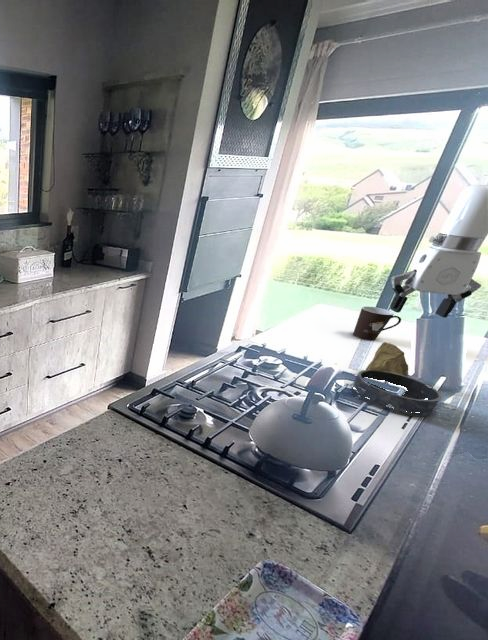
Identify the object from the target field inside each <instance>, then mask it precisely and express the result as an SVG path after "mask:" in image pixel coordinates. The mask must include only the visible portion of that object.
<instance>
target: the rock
mask: <svg viewBox="0 0 488 640" xmlns="http://www.w3.org/2000/svg"><path fill="white" fill-rule="evenodd" d="M365 370H380V371H386V372H392V373H396V374H400V375H404V376H407V377H409V364H408V363H407V360H406V357H405V352H404V351H402V349H401V348H399V347H398V346H397V345H395V344H393V343H390V342H389V343H388V342H382V343H381V344H380V346H379V347H377V350H376V351H375V353H374V356H373V357H372V360H371V361H370V363H369V364H368V365H367V366H366V368H365Z"/></svg>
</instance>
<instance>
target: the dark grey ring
mask: <svg viewBox="0 0 488 640" xmlns="http://www.w3.org/2000/svg"><path fill="white" fill-rule="evenodd" d="M364 377H368V378H373V379H377V380H385V381H388V382H390V383H393V384H396V385H401V386H404V387H406V388H407V390H408V391H406V392H405V394H404V395H402V396H399V395H396V394H392V393H390V392H388V391H386V390H385V389H383V388H380V387H378V386H376V385H373V384H370V383H369V382H366V381H365V380H364V379H363V378H364ZM352 385H353V387H355V388H356V389H357V390H358V392H359V393H357V392H356V391H355V390H354V389H353V387H352ZM350 391H351V392H352V394H353V395H354V396H356V397H357V398H359V399H360V400H361V401H363V402H365V403H367V404H368V405H371V406H373V407H376V408H378V409H381V410H384V411H387V412H391V413H393V414H398V415H402V416H408V417H428V416H430V415H431V414H432V413H433V412H434V410H436V407H437V406H438V405H439V404H440V401H442V400H443V396H442V393H440V392H439V391H438V390H437V389H436V388H434V387H433V386H431V385H429V384H427V383H425V382H423V381H420V380H419V379H415V378H413V377H410V376H408V377H407V376H404V375H400V374H396V373H392V372H386V371H380V370H366V369H363V370H360V371H359V372H358V373H357V374H356V377H355V378H354V380H353V381H352V383H351V386H350ZM365 397H368V398H370V400H369V399H367V398H365ZM425 398H428V400H424V399H425ZM388 404H391V405H392V406H393V407H394V409H393V408H389V407H386V405H388ZM406 411H407V412H406ZM411 412H412V413H411ZM413 412H414V413H413ZM415 412H420V413H415Z"/></svg>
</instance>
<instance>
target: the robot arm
mask: <svg viewBox="0 0 488 640" xmlns="http://www.w3.org/2000/svg"><path fill="white" fill-rule="evenodd" d="M487 236H488V184H472V185H468V186H467V187H465V188H464V189H463V190H461V192H460V194H459V196H458V198H457V200H456V201H455V203H454V205H453V207H452V209H451V211H450V212H449V214H448V216H447V217H446V219H445V221H444V223H443V225H442V227H441V229H440V231H439V233H437V235H436V236H430V237H429V239H428V242H429V243H432V245H431V246H428V247H427V248H426V249H425V250H424V252H422V254H421V255H420V257H419V258H417V261H416V262H415V263H414V265H413V267H412V268H411V270H410V271H407V272H403V273H399V274H396V275H393V276H391V278H390V279H391V281H390V282H391V288H392V290H393V293H394V294H395V296H394V297H393V299H392V301H391V303H390V305H389V310H390V311H392V312H393V313H401V311H402V310H403V308H404V306H405V304H406V302H407V300H408V297H407V296H408V295H410V294H412V293H414V292H420V293H429V294H440V295H446V297H445V298H443V299H442V300H441V302H440V304H439V306H438V307H437V309H436V311H435V314H436V315H438V316H440V317H441V318H445V319H446V318H448V316H449V315H450V314H451V312H452V311H453V309H455V306H456V305H457V303H461V302H462V301H463V300H464V299H466V298H468V297H470V296H472V294H474V293H475V292H476V291H478V290H479V289H480V288H482V285H481V284H480V283H479V282H478V281H476V280H475V279H473V277H474V275H475V272H476V270H477V268H478V266H479V263H480V259H481V256H482V252H481V251H479V249H480V248H481V247H482V245H483V243H484V241H485V240H486V239H487ZM402 281H404V285H401V284H402Z"/></svg>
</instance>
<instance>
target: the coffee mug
mask: <svg viewBox="0 0 488 640" xmlns="http://www.w3.org/2000/svg"><path fill="white" fill-rule="evenodd" d="M393 318H395V319H396V318H397V319H398V321H397V322H396V323H394V324H393V325H390V326H388V327H386V326H387V324H388V323H389V322H390V320H392V319H393ZM400 323H402V318H401V317H400V316H398V315H395V312H394V311H392V310H390V309H385V308H381V307H377V306H376V307H375V306H368V305H367V306H362V307H361V309H360V312H359V315H358V318H357V321H356V324H355V327H354V330H353V333H352V336H353V337H354V338H357V339H361V340H364V341H370V342H371V341H376V340H377V338H378V337H379V335H380V334H381V333H382V332H383V331H387V330H389V329H392V328H394V327H397V326H398V325H400Z"/></svg>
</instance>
